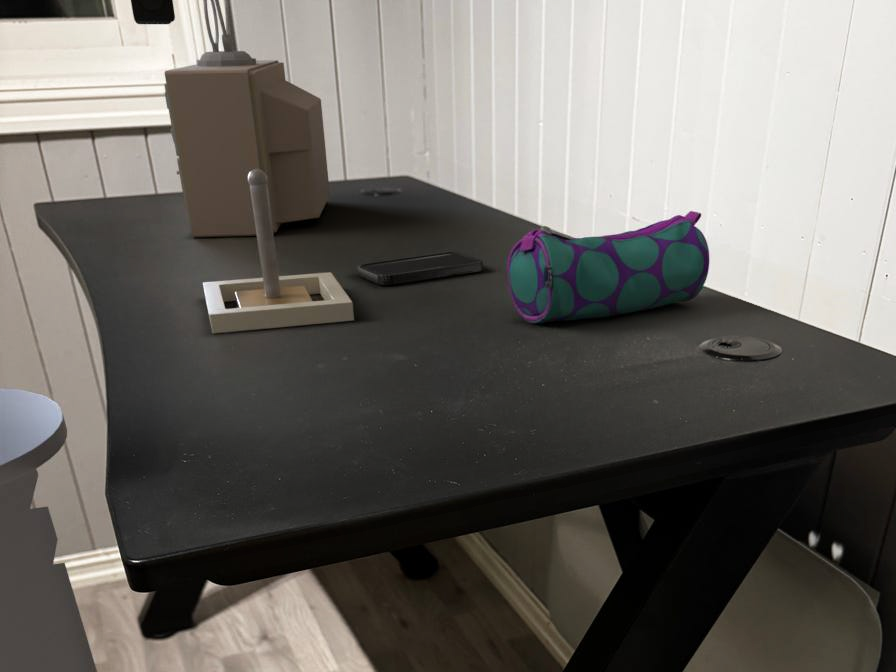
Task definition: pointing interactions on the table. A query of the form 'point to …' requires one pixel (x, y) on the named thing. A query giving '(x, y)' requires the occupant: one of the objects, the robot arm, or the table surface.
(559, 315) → the pencil case
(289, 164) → the television
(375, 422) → the table surface
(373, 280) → the phone
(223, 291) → the white square frame
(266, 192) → the wooden base with peg
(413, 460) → the table surface
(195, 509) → the table surface
